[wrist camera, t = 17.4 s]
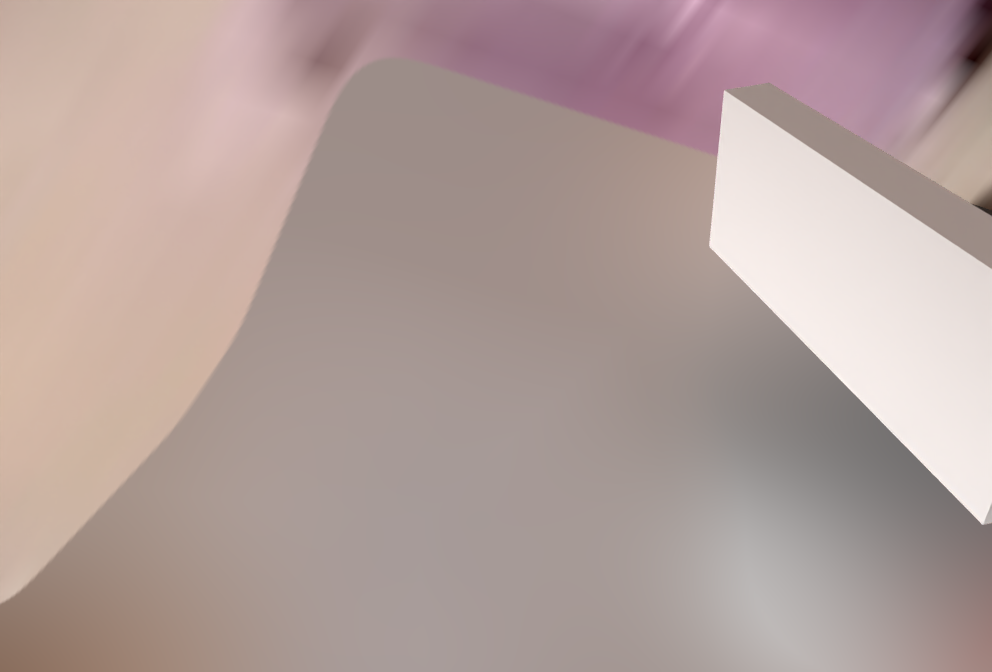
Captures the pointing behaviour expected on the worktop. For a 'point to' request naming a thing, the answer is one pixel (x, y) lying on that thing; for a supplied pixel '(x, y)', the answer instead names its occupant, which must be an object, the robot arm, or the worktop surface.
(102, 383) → the worktop surface
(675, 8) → the worktop surface
